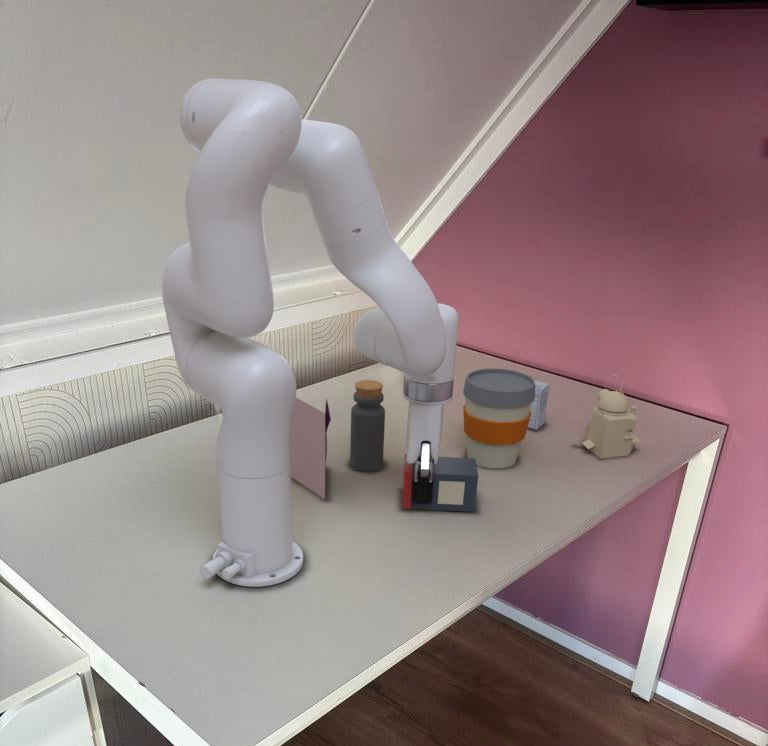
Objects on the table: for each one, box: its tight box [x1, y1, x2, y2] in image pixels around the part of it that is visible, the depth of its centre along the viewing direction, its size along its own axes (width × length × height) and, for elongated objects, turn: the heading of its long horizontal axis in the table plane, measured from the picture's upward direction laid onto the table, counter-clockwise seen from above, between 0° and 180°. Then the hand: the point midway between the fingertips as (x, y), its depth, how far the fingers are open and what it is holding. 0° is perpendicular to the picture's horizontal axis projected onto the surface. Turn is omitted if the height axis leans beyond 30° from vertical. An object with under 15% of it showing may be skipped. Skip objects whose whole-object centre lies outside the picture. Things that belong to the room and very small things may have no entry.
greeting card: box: [290, 397, 332, 500], centre depth 132 cm, size 11×7×15 cm, turn 3°
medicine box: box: [527, 379, 550, 431], centre depth 160 cm, size 8×4×9 cm, turn 58°
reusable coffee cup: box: [462, 368, 536, 469], centre depth 144 cm, size 13×13×15 cm
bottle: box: [349, 379, 386, 472], centre depth 139 cm, size 6×6×15 cm
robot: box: [578, 373, 641, 459], centre depth 149 cm, size 10×8×15 cm
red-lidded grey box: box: [402, 453, 479, 513], centre depth 130 cm, size 12×7×7 cm, turn 88°
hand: (421, 491), depth 131 cm, fingers closed on red-lidded grey box, 6 cm apart
